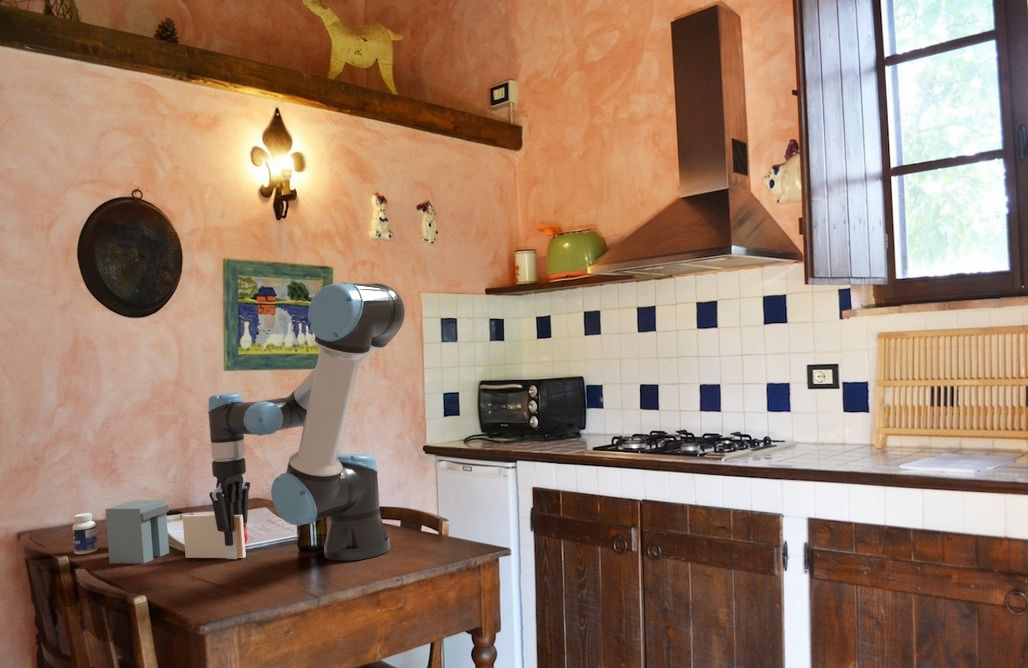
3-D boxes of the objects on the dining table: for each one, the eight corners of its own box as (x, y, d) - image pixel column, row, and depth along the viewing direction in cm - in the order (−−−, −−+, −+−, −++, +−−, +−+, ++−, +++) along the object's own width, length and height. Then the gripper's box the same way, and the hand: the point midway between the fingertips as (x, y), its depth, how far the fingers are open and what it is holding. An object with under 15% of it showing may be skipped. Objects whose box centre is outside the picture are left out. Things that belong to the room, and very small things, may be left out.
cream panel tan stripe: (245, 556, 196) (242, 514, 196) (243, 557, 195) (240, 515, 195) (188, 556, 200) (185, 515, 200) (185, 557, 199) (182, 516, 199)
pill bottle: (69, 554, 213) (66, 516, 213) (88, 548, 218) (85, 511, 218) (83, 555, 211) (80, 517, 211) (102, 549, 216) (99, 512, 215)
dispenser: (172, 552, 206) (167, 500, 206) (146, 563, 198) (142, 508, 198) (135, 552, 209) (131, 500, 209) (109, 563, 201) (105, 509, 200)
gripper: (232, 453, 204) (238, 548, 204) (195, 464, 190) (202, 565, 190) (259, 453, 202) (265, 549, 202) (224, 463, 188) (230, 566, 188)
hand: (234, 557), depth 196 cm, fingers closed on cream panel tan stripe
